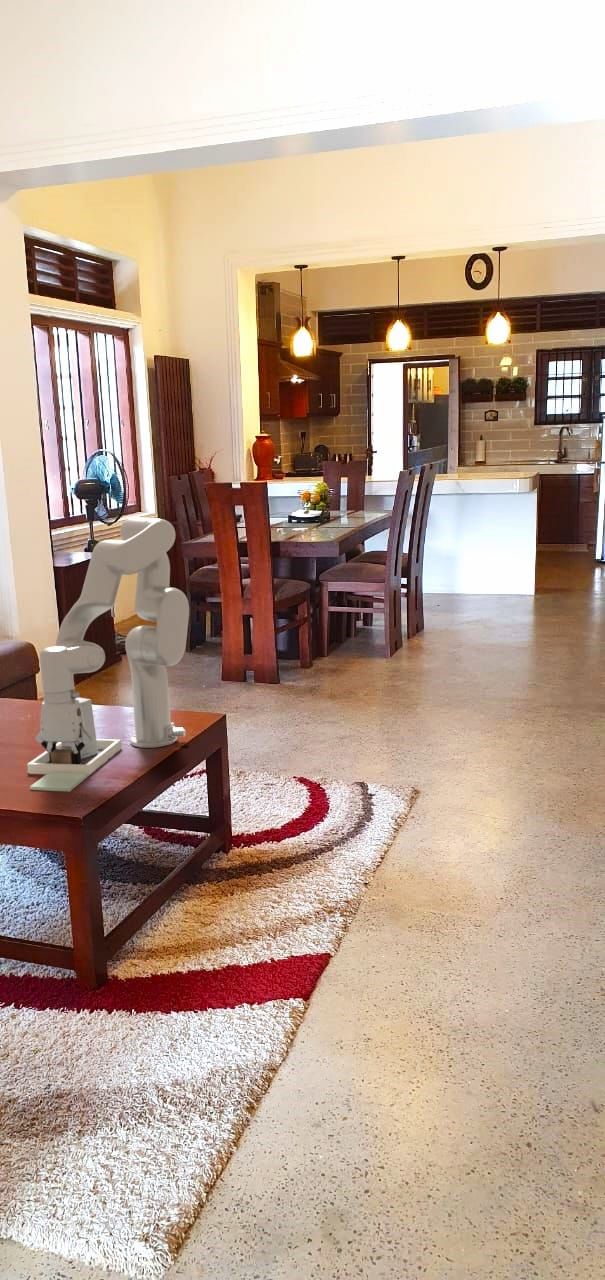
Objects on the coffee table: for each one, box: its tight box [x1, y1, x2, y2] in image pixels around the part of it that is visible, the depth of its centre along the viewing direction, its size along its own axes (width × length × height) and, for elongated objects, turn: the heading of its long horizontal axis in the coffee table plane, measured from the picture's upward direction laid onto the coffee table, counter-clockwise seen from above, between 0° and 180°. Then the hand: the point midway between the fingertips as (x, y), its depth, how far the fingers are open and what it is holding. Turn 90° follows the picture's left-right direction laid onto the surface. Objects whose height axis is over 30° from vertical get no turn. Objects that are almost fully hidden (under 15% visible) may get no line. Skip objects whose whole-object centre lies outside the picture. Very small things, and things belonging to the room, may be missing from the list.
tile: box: [29, 772, 89, 792], centre depth 229 cm, size 10×10×1 cm
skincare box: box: [61, 697, 99, 760], centre depth 248 cm, size 8×6×15 cm
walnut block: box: [51, 746, 73, 764], centre depth 239 cm, size 5×5×5 cm
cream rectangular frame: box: [26, 738, 122, 777], centre depth 245 cm, size 16×21×2 cm
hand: (65, 766), depth 239 cm, fingers closed on walnut block, 5 cm apart
